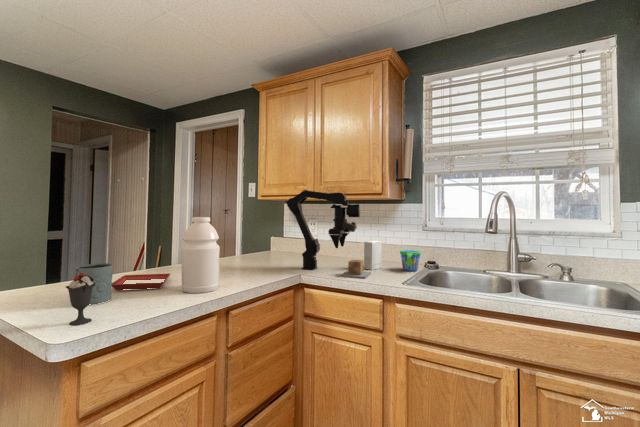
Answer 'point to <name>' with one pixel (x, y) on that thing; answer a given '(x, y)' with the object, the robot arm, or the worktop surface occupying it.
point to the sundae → (80, 296)
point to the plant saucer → (120, 286)
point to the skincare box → (372, 255)
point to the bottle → (200, 257)
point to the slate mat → (355, 275)
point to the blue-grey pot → (99, 280)
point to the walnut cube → (356, 267)
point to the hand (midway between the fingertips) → (339, 247)
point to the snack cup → (410, 259)
